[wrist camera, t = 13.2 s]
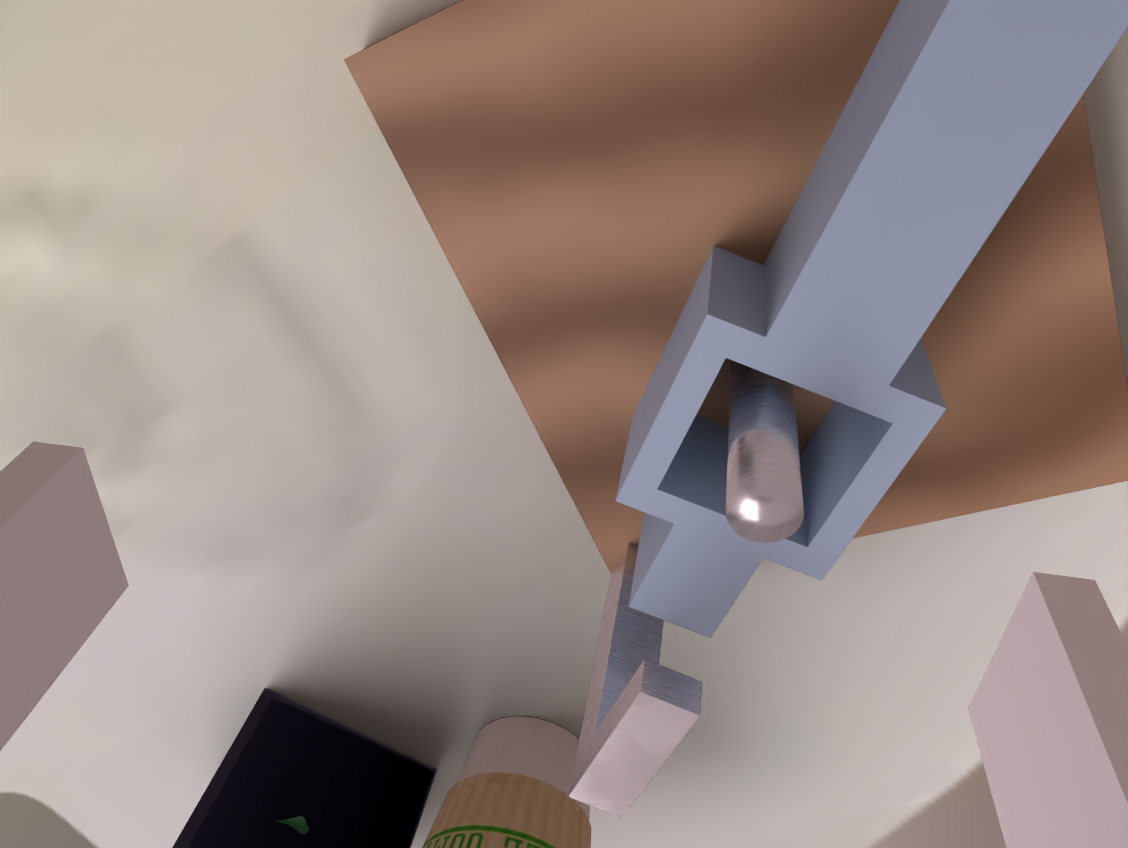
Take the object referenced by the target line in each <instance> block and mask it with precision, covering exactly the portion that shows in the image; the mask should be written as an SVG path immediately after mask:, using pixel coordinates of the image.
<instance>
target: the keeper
mask: <svg viewBox="0 0 1128 848" xmlns="http://www.w3.org/2000/svg"><path fill="white" fill-rule="evenodd" d="M637 552H638V547H637V546H634V545H632V544H630V543H628V545H627V547H626V548H625V550H624V552H623V554H622V555H621V557H620V559H619V560H618V562H617V564H616V566H615V567H614V569H613V571H612V573H611V577H610V582H609V587H608V593H607V598H606V603H605V608H604V613H603V619H602V624H601V629H600V634H599V640H598V645H597V650H596V655H595V661H594V666H593V671H592V676H591V681H590V687H589V692H588V697H587V702H586V708H585V713H584V718H583V723H582V729H581V734H580V739H579V744H578V749H577V755H576V760H575V765H574V770H573V776H572V781H571V786H570V791H569V797H570V798H573V799H575V800H578V801H580V802H583V803H585V804H588V805H591V806H593V807H596V808H598V809H601V810H603V811H606V812H608V813H611V814H613V815H616V816H618V817H621V818H622V817H623V815H624V814H625V813H626V811H627V810H628V809H629V808H630V806H631V805H632V804H633V802H634V801H635V800H636V798H637V797H638V796H639V795H640V793H641V792H642V791H643V789H644V788H645V787H646V785H647V784H648V783H649V782H650V780H651V779H652V778H653V776H654V775H655V774H656V773H657V771H658V770H659V769H660V767H661V766H662V765H663V763H664V762H665V761H666V760H667V758H668V757H669V756H670V754H671V753H672V752H673V750H674V749H675V748H676V747H677V745H678V744H679V743H680V741H681V740H682V739H683V737H684V736H685V735H686V734H687V732H688V731H689V730H690V728H691V727H692V726H693V724H694V723H695V722H696V721H697V719H698V718H699V717H700V710H701V692H702V682H701V681H698V680H696V679H693V678H691V677H688V676H686V675H683V674H681V673H679V672H676V671H674V670H671V669H669V668H666V667H664V666H661V665H659V656H660V647H661V638H662V629H663V620H662V619H660V618H657V617H654V616H652V615H649V614H647V613H644V612H641V611H639V610H636V609H633V608H631V607H629V602H630V596H631V590H632V583H633V577H634V571H635V565H636V558H637Z"/></svg>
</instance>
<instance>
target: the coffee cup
mask: <svg viewBox="0 0 1128 848" xmlns="http://www.w3.org/2000/svg"><path fill="white" fill-rule="evenodd" d="M578 744H579V739H578V738H577V737H576V736H574V735H573V734H572V733H571V732H569V731H567V730H566V729H564V728H562V727H561V726H558V725H556V724H554V723H551V722H549V721H545V720H542V719H538V718H532V717H507V718H502V719H498V720H495V721H493V722H491V723H489V724H487V725H486V726H485V727H484V728H482V729H481V730H480V732H479V733H478V735H477V737H476V739H475V741H474V743H473V745H472V748H471V750H470V752H469V754H468V757H467V759H466V761H465V763H464V765H463V768H462V770H461V772H460V774H459V776H458V779H457V781H456V783H455V785H454V786H453V787H452V788H451V789H450V791H449V792H448V794H447V796H446V798H445V800H444V802H443V804H442V806H441V808H440V811H439V813H438V815H437V817H436V819H435V821H434V824H433V826H432V828H431V830H430V832H429V834H428V837H427V839H426V841H425V843H424V845H423V847H422V848H590V847H591V826H590V822H589V810H590V805H588V804H585V803H583V802H580V801H578V800H575V799H573V798H570V797H569V791H570V786H571V781H572V776H573V770H574V765H575V760H576V755H577V749H578Z"/></svg>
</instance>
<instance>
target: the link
mask: <svg viewBox="0 0 1128 848" xmlns="http://www.w3.org/2000/svg"><path fill="white" fill-rule="evenodd" d="M1127 27H1128V0H900V1H899V3H898V5H897V7H896V9H895V10H894V12H893V14H892V16H891V18H890V20H889V22H888V24H887V26H886V28H885V30H884V32H883V34H882V36H881V38H880V40H879V42H878V44H877V45H876V47H875V49H874V51H873V53H872V55H871V57H870V59H869V61H868V63H867V65H866V67H865V69H864V71H863V73H862V75H861V77H860V78H859V80H858V82H857V84H856V86H855V88H854V90H853V92H852V94H851V96H850V98H849V100H848V102H847V104H846V106H845V108H844V110H843V112H842V113H841V115H840V117H839V119H838V121H837V123H836V125H835V127H834V129H833V131H832V133H831V135H830V137H829V139H828V141H827V143H826V145H825V146H824V148H823V150H822V152H821V154H820V156H819V158H818V160H817V162H816V164H815V166H814V168H813V170H812V172H811V174H810V176H809V178H808V179H807V181H806V183H805V185H804V187H803V189H802V191H801V193H800V195H799V197H798V199H797V201H796V203H795V205H794V207H793V209H792V211H791V213H790V214H789V216H788V218H787V220H786V222H785V224H784V226H783V228H782V230H781V232H780V234H779V236H778V238H777V240H776V242H775V244H774V246H773V247H772V249H771V251H770V253H769V255H768V257H767V259H766V261H765V263H764V265H761V264H759V263H756V262H754V261H751V260H749V259H746V258H744V257H741V256H739V255H736V254H734V253H731V252H729V251H726V250H724V249H721V248H719V247H716V246H713V247H712V250H711V252H710V254H709V256H708V258H707V260H706V262H705V264H704V267H703V269H702V271H701V273H700V275H699V277H698V279H697V281H696V283H695V286H694V288H693V290H692V292H691V294H690V296H689V298H688V300H687V303H686V305H685V307H684V309H683V311H682V313H681V315H680V317H679V320H678V322H677V324H676V326H675V328H674V330H673V332H672V334H671V337H670V339H669V341H668V343H667V345H666V347H665V349H664V351H663V354H662V356H661V358H660V360H659V362H658V364H657V366H656V368H655V370H654V373H653V375H652V377H651V379H650V381H649V383H648V385H647V387H646V390H645V392H644V394H643V396H642V398H641V400H640V402H639V404H638V407H637V409H636V411H635V413H634V415H633V418H632V423H631V428H630V432H629V437H628V442H627V447H626V452H625V457H624V462H623V466H622V471H621V476H620V481H619V486H618V491H617V496H616V500H615V501H616V502H619V503H622V504H624V505H627V506H629V507H632V508H635V509H637V510H640V511H642V512H645V513H644V515H643V521H642V527H641V533H640V539H639V546H638V552H637V558H636V565H635V571H634V577H633V583H632V590H631V596H630V602H629V607H631V608H633V609H636V610H639V611H641V612H644V613H647V614H649V615H652V616H654V617H657V618H660V619H662V620H665V621H668V622H670V623H673V624H676V625H678V626H681V627H683V628H686V629H689V630H691V631H694V632H697V633H699V634H702V635H705V636H707V637H710V638H711V637H712V635H713V634H714V632H715V631H716V629H717V628H718V626H719V625H720V623H721V622H722V620H723V619H724V617H725V615H726V614H727V612H728V611H729V609H730V608H731V606H732V605H733V603H734V602H735V600H736V599H737V597H738V596H739V594H740V593H741V591H742V590H743V588H744V586H745V585H746V583H747V582H748V580H749V579H750V577H751V576H752V574H753V573H754V571H755V570H756V568H757V567H758V565H759V564H760V562H761V561H762V559H763V558H765V559H767V560H770V561H773V562H775V563H778V564H780V565H783V566H786V567H788V568H791V569H793V570H796V571H799V572H801V573H804V574H806V575H809V576H812V577H814V578H817V579H819V580H822V579H823V578H824V577H825V575H826V574H827V573H828V571H829V570H830V568H831V567H832V566H833V564H834V563H835V562H836V560H837V559H838V557H839V556H840V555H841V553H842V552H843V550H844V549H845V548H846V546H847V545H848V544H849V542H850V541H851V539H852V538H853V537H854V535H855V534H856V533H857V531H858V530H859V528H860V527H861V526H862V524H863V523H864V522H865V520H866V519H867V517H868V516H869V515H870V513H871V512H872V510H873V509H874V508H875V506H876V505H877V504H878V502H879V501H880V499H881V498H882V497H883V495H884V494H885V493H886V491H887V490H888V488H889V487H890V486H891V484H892V483H893V482H894V480H895V479H896V477H897V476H898V475H899V473H900V472H901V471H902V469H903V468H904V466H905V465H906V464H907V462H908V461H909V459H910V458H911V457H912V455H913V454H914V453H915V451H916V450H917V448H918V447H919V446H920V444H921V443H922V442H923V440H924V439H925V437H926V436H927V435H928V433H929V432H930V431H931V429H932V428H933V426H934V425H935V424H936V422H937V421H938V419H939V418H940V417H941V415H942V414H943V413H944V411H945V410H946V406H945V403H944V400H943V398H942V395H941V392H940V389H939V386H938V384H937V381H936V378H935V375H934V372H933V369H932V367H931V364H930V361H929V358H928V355H927V352H926V350H925V347H924V344H923V341H922V338H921V337H922V335H923V334H924V332H925V331H926V329H927V328H928V326H929V325H930V323H931V322H932V320H933V319H934V317H935V316H936V314H937V313H938V311H939V310H940V308H941V307H942V305H943V304H944V302H945V301H946V299H947V298H948V296H949V295H950V293H951V292H952V290H953V289H954V287H955V286H956V284H957V283H958V281H959V280H960V278H961V277H962V275H963V274H964V272H965V271H966V269H967V268H968V266H969V265H970V263H971V262H972V260H973V259H974V257H975V256H976V254H977V253H978V251H979V250H980V248H981V247H982V245H983V244H984V242H985V241H986V239H987V238H988V236H989V235H990V233H991V232H992V230H993V229H994V227H995V226H996V224H997V222H998V221H999V219H1000V218H1001V216H1002V215H1003V213H1004V212H1005V210H1006V209H1007V207H1008V206H1009V204H1010V203H1011V201H1012V200H1013V198H1014V197H1015V195H1016V194H1017V192H1018V191H1019V189H1020V188H1021V186H1022V185H1023V183H1024V182H1025V180H1026V179H1027V177H1028V176H1029V174H1030V173H1031V171H1032V170H1033V168H1034V167H1035V165H1036V164H1037V162H1038V161H1039V159H1040V158H1041V156H1042V155H1043V153H1044V152H1045V150H1046V149H1047V147H1048V146H1049V144H1050V143H1051V141H1052V140H1053V138H1054V137H1055V135H1056V134H1057V132H1058V131H1059V129H1060V128H1061V126H1062V125H1063V123H1064V122H1065V120H1066V119H1067V117H1068V116H1069V114H1070V113H1071V111H1072V110H1073V108H1074V107H1075V105H1076V104H1077V102H1078V101H1079V99H1080V98H1081V96H1082V95H1083V93H1084V92H1085V90H1086V89H1087V87H1088V86H1089V84H1090V83H1091V81H1092V80H1093V78H1094V77H1095V75H1096V74H1097V72H1098V71H1099V69H1100V68H1101V66H1102V65H1103V63H1104V62H1105V60H1106V59H1107V57H1108V56H1109V54H1110V53H1111V51H1112V50H1113V48H1114V47H1115V45H1116V44H1117V42H1118V41H1119V39H1120V38H1121V36H1122V35H1123V33H1124V32H1125V30H1126V29H1127ZM726 358H728V359H730V360H733V361H735V362H738V363H740V364H743V365H746V366H748V367H751V368H753V369H756V370H758V371H761V372H763V373H766V374H768V375H771V376H773V377H776V378H779V379H781V380H784V381H786V382H789V383H791V384H794V385H796V386H799V387H801V388H804V389H807V390H809V391H812V392H814V393H817V394H819V395H822V396H824V397H827V398H829V399H832V400H835V401H834V402H833V404H832V406H831V407H830V409H829V410H828V412H827V414H826V415H825V417H824V418H823V420H822V422H821V423H820V425H819V426H818V428H817V430H816V431H815V433H814V434H813V436H812V437H811V439H810V441H809V442H808V444H807V445H806V447H805V449H804V450H803V452H802V453H801V455H800V456H799V460H800V472H801V484H802V496H803V508H804V517H803V521H802V524H801V525H800V527H799V528H798V530H797V531H796V532H795V533H794V534H792V535H791V536H790V537H788V538H786V539H784V540H781V541H777V542H772V543H759V542H753V541H750V540H747V539H745V538H743V537H741V536H740V535H738V534H737V533H736V532H734V530H733V529H732V528H731V527H730V525H729V524H728V521H727V518H726V489H727V460H728V432H729V428H727V427H725V426H722V425H719V424H717V423H714V422H712V421H709V420H707V419H704V418H701V417H699V416H696V414H697V412H698V410H699V408H700V407H701V405H702V403H703V401H704V399H705V397H706V395H707V393H708V391H709V389H710V387H711V386H712V384H713V382H714V380H715V378H716V376H717V374H718V372H719V370H720V368H721V366H722V364H723V363H724V361H725V359H726Z"/></svg>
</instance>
